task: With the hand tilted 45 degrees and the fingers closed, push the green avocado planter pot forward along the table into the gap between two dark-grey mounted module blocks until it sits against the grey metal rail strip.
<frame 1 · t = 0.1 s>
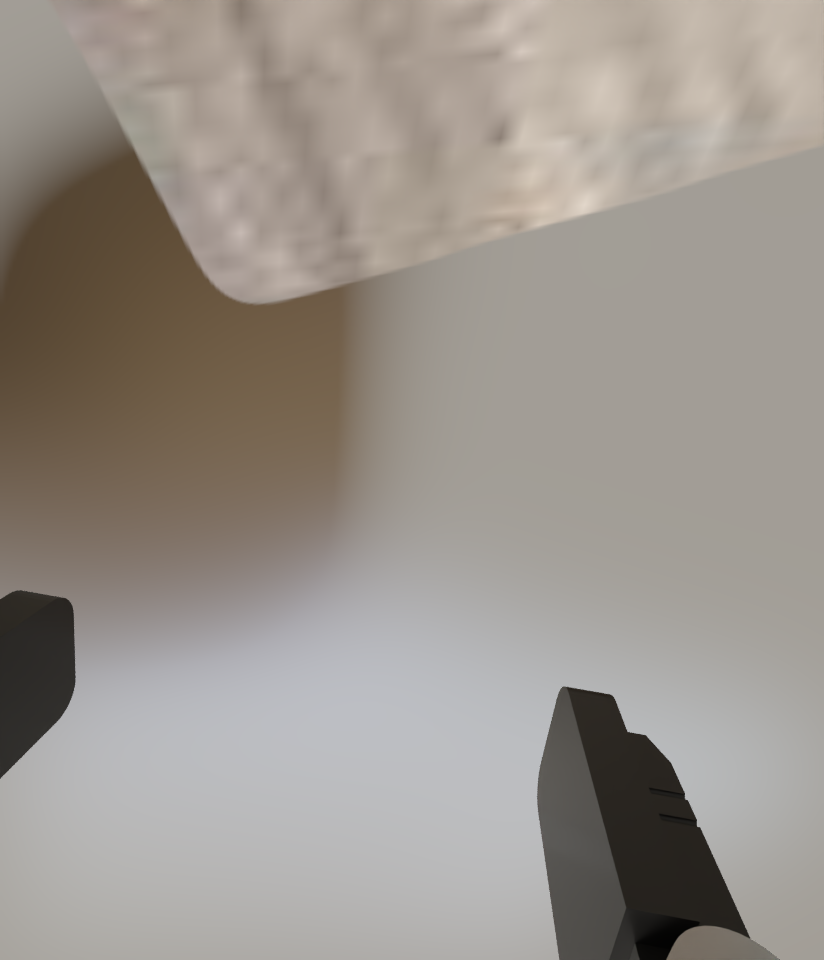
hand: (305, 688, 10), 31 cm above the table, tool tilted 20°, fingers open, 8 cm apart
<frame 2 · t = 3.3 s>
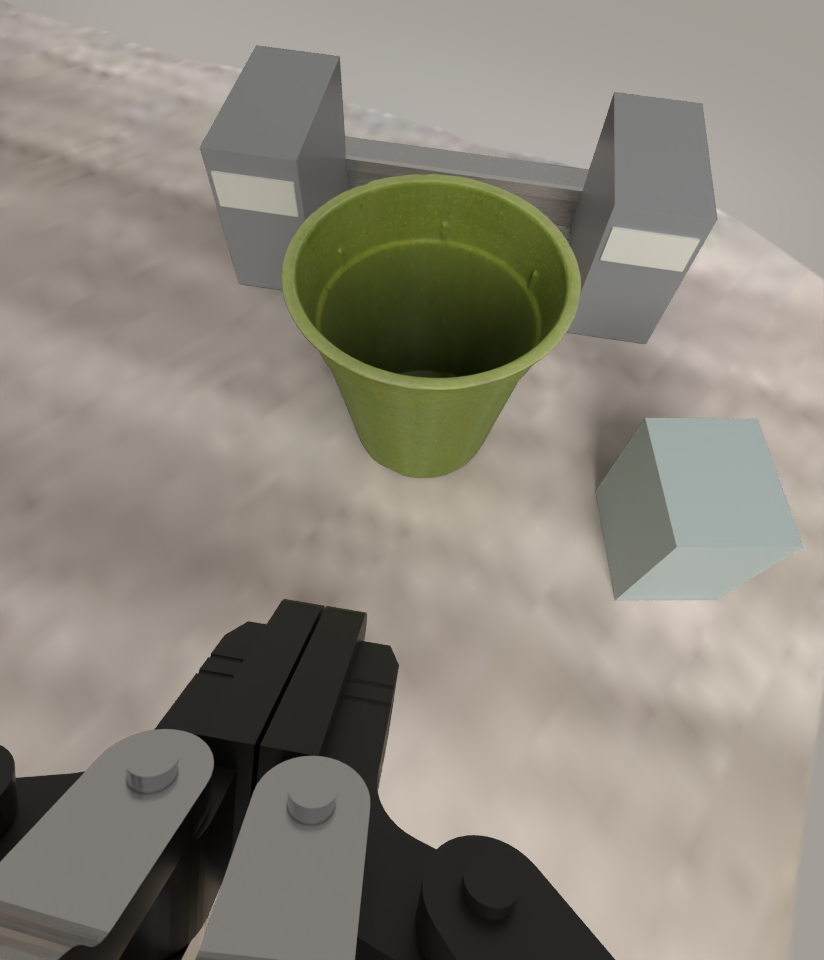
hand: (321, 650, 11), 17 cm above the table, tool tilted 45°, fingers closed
plant pot: (418, 426, 33), on the table
module 1: (605, 281, 39), on the table
module 2: (296, 236, 40), on the table
rail strip: (460, 201, 42), on the table
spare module: (652, 543, 30), on the table
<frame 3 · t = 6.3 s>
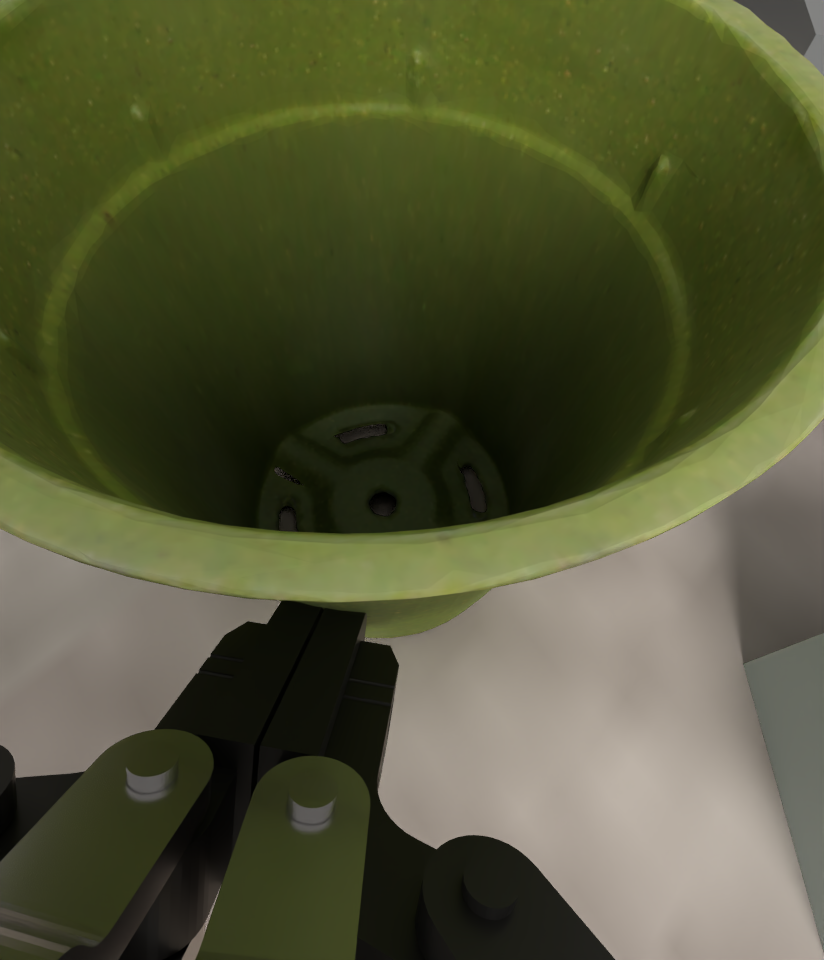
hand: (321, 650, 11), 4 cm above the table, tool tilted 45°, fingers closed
plant pot: (377, 516, 17), on the table, touching gripper
module 1: (710, 243, 23), on the table
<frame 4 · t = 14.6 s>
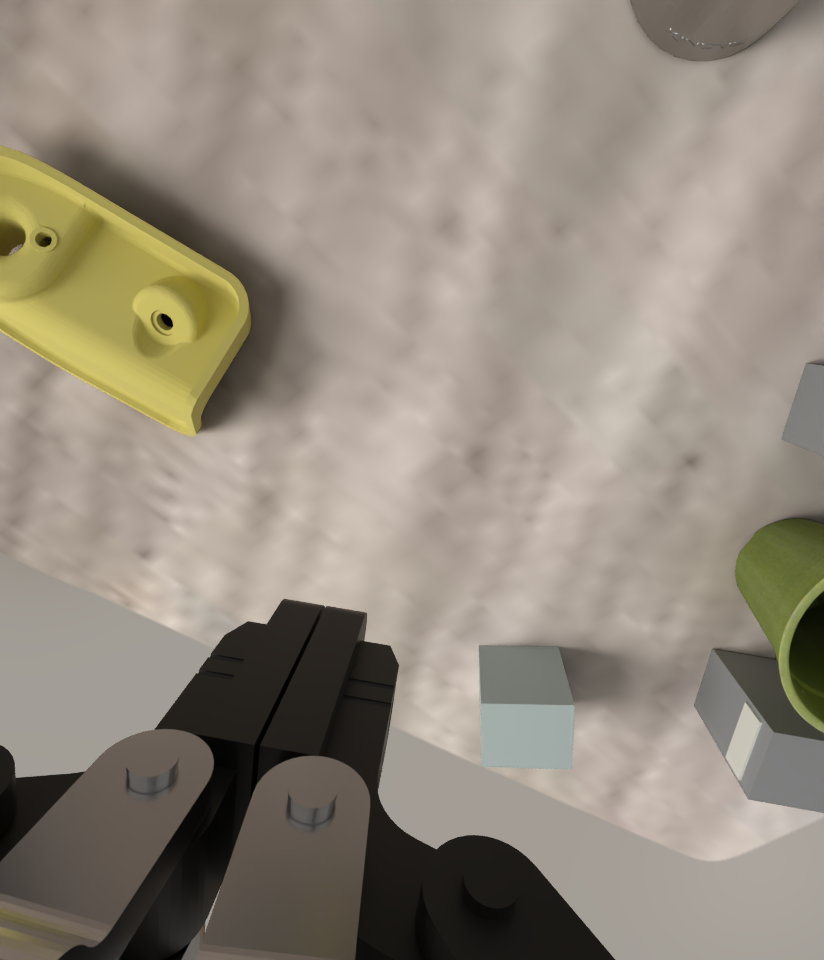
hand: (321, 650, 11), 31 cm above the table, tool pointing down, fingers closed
plant pot: (786, 562, 41), on the table
module 1: (770, 689, 44), on the table
plastic component: (120, 293, 41), on the table
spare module: (518, 674, 46), on the table
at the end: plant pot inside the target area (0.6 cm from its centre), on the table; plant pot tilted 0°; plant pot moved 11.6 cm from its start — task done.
